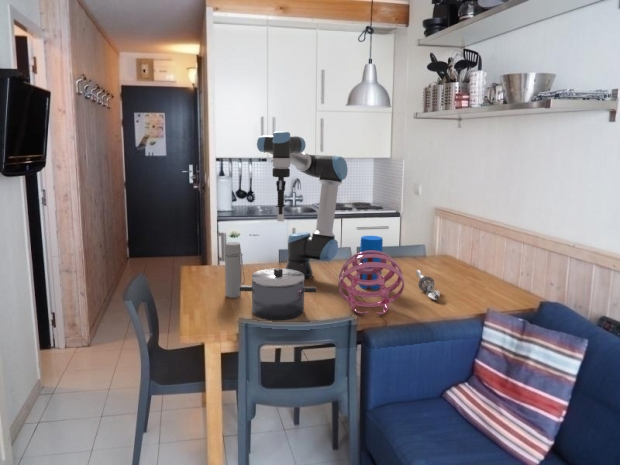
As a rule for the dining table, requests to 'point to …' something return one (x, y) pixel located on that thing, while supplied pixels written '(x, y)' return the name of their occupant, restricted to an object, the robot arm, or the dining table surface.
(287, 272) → the lid
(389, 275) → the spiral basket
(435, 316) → the dining table surface
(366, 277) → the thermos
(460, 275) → the dining table surface
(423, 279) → the spaceship
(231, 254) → the water bottle
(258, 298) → the pot
